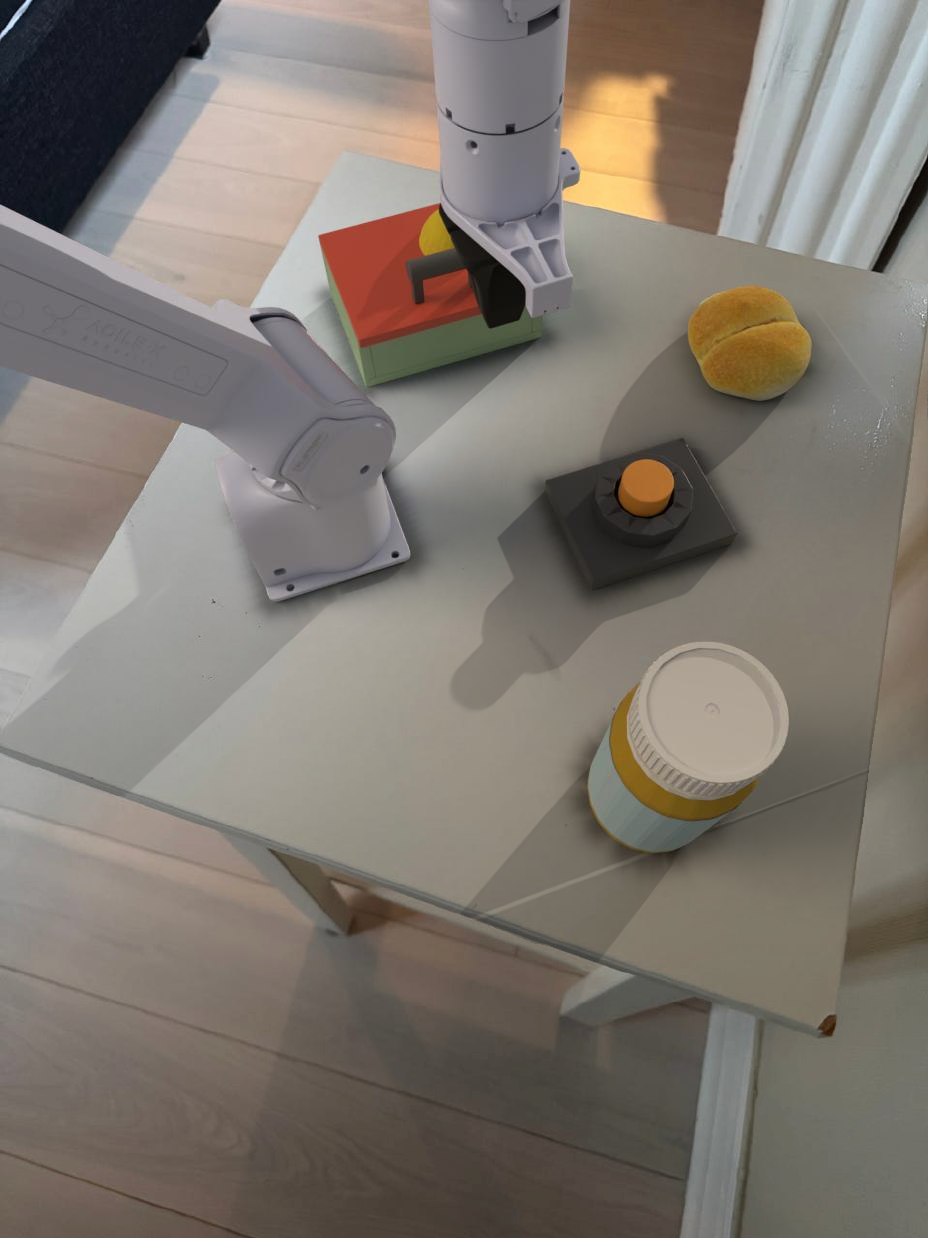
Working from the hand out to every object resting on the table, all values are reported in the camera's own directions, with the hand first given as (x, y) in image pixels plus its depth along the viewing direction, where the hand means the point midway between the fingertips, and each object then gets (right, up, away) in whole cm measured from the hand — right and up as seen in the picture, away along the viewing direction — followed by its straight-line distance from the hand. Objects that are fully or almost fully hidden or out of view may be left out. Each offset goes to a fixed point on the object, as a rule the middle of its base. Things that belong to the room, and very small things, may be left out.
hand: (500, 316), depth 49 cm
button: (+9, -10, +3) cm, 14 cm away
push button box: (+9, -11, +6) cm, 16 cm away
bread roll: (+18, +1, +12) cm, 22 cm away
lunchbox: (-4, +5, +14) cm, 15 cm away
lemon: (-3, +8, +10) cm, 13 cm away
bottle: (+8, -28, -2) cm, 29 cm away
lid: (-4, +7, +9) cm, 12 cm away
